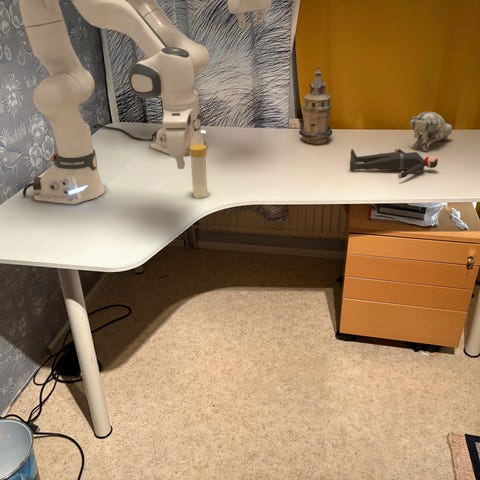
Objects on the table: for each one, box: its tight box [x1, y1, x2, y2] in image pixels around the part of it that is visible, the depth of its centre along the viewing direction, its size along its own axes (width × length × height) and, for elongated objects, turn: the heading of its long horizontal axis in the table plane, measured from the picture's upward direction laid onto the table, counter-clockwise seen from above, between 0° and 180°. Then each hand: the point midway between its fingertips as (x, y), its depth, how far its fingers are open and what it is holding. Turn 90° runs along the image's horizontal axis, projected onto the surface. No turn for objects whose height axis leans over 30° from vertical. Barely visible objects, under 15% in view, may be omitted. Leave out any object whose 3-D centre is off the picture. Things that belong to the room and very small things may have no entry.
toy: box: [349, 148, 439, 180], centre depth 190 cm, size 26×6×30 cm
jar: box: [190, 154, 208, 199], centre depth 171 cm, size 5×5×16 cm
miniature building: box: [298, 65, 333, 145], centre depth 213 cm, size 13×14×30 cm
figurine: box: [408, 111, 453, 152], centre depth 210 cm, size 10×19×20 cm
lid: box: [189, 144, 208, 157], centre depth 168 cm, size 5×5×2 cm
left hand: (184, 161), depth 149 cm, fingers open, 8 cm apart
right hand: (250, 25), depth 175 cm, fingers open, 8 cm apart
